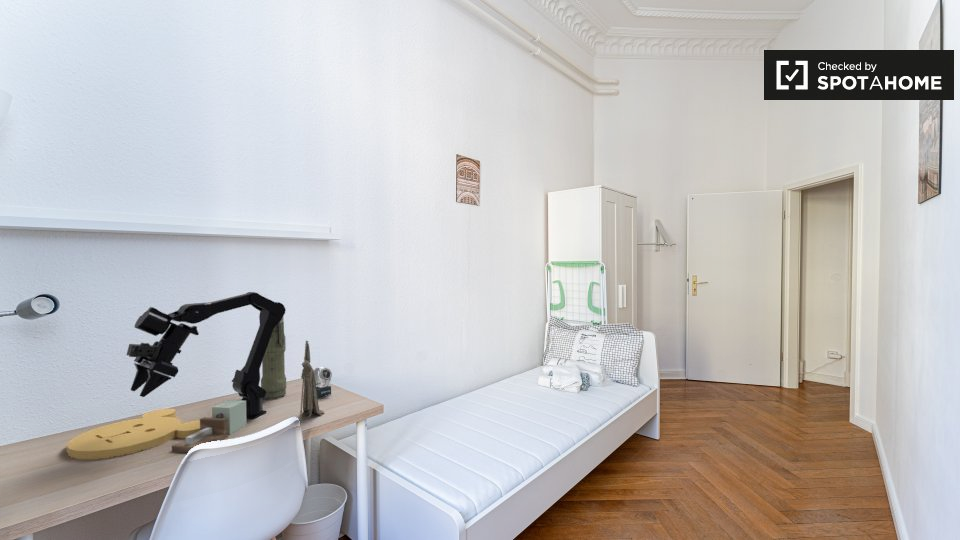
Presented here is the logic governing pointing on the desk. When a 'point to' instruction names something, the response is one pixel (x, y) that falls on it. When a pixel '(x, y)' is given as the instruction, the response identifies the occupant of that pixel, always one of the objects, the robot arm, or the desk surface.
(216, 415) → the cabinet block
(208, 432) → the cleat board
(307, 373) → the wizard figurine
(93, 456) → the decorative plaque
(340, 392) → the desk surface
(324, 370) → the watch
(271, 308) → the robot arm
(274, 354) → the thermos
